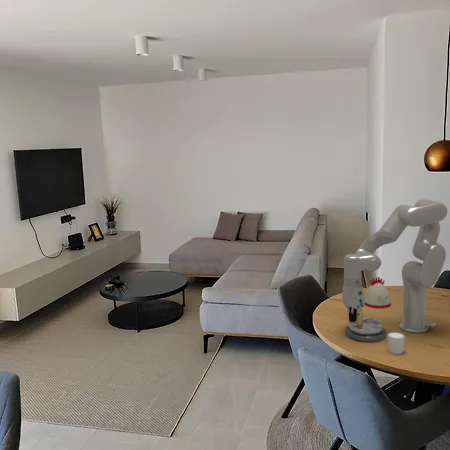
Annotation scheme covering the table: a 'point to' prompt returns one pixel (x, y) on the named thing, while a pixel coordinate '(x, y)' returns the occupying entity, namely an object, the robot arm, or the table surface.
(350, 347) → the table surface
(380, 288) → the white crested helmet
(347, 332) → the dark grey round base
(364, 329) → the grey tabbed disc
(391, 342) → the grey white-topped cylinder
